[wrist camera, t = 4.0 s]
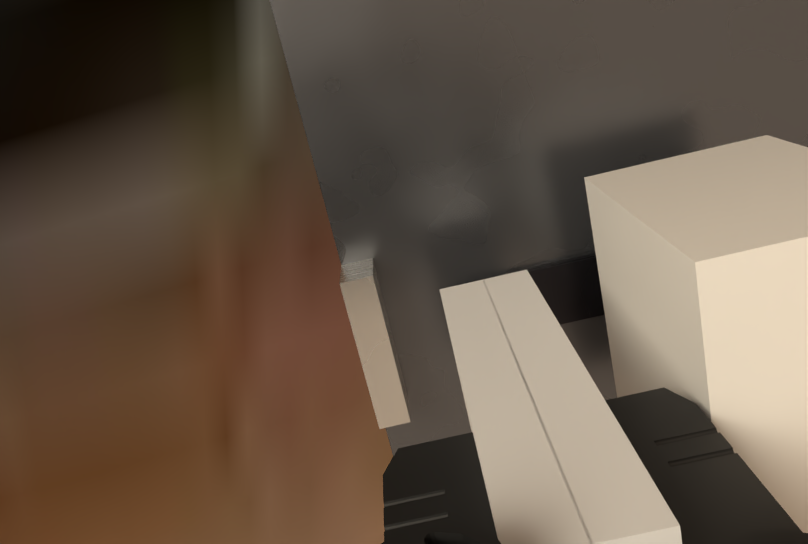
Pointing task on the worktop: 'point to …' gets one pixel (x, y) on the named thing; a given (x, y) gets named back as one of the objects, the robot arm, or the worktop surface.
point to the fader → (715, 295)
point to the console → (510, 152)
